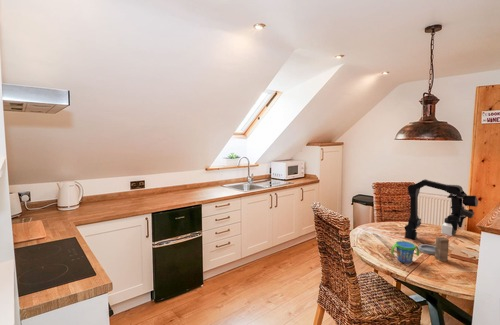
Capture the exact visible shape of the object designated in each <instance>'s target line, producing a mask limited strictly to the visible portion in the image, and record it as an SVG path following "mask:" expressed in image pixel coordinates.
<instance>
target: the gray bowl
mask: <svg viewBox="0 0 500 325" xmlns="http://www.w3.org/2000/svg"><path fill="white" fill-rule="evenodd" d="M435 246H436V245H432V244H425V243H424V244H423V243H422V244H419V245H418V246H417V247H418V249H419V252H420V253H423V254H426V255H431V256H432V255H433V256H435Z"/></svg>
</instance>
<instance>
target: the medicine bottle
mask: <svg viewBox="0 0 500 325" xmlns="http://www.w3.org/2000/svg"><path fill="white" fill-rule="evenodd" d="M440 232H441V234H442V235H446V236H449V237H453V236H456V234H457V231H455V230H454V228H453V227H452V225H451V223H450V222H449V221H448V220H447V217H445V218H444V222H443V224H441V231H440Z"/></svg>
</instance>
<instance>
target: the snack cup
mask: <svg viewBox="0 0 500 325" xmlns="http://www.w3.org/2000/svg"><path fill="white" fill-rule="evenodd" d="M418 247H419V246H416V245H415V244H414V243H412V242H409V241H403V240H402V241H401V240H400V241H399V240H398V241H395V243H394V244H393V246H392V247H391V250H390V252H391V256H394V255H395V254H394V251H395V249H396V256H397V260H398V262H402V263H404V264H408V263H410V264H411V263H412V262H413V258H414V254H415V255H416V256H417V257H418V256H420V251H419V249H418ZM415 250H416V253H415Z"/></svg>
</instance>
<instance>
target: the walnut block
mask: <svg viewBox="0 0 500 325" xmlns="http://www.w3.org/2000/svg"><path fill="white" fill-rule="evenodd" d="M449 241H450V240H449V239H448V238H446V237H444V236H436V237H435V245H434V246H435V255H434V258H435V259H436V260H437V261H438V262H448V259H449V257H448V256H449V245H450V243H449Z"/></svg>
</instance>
